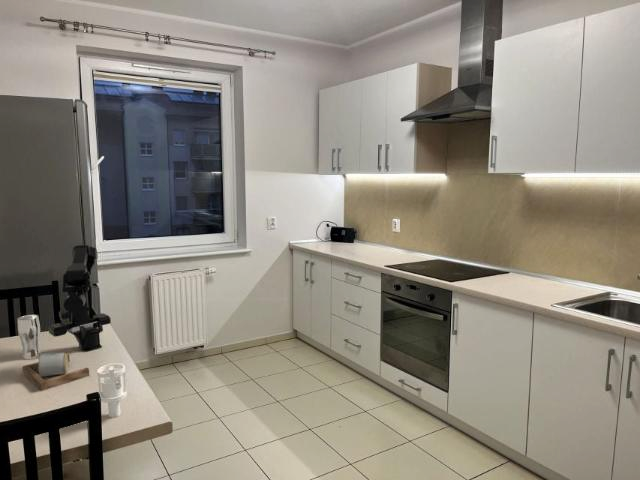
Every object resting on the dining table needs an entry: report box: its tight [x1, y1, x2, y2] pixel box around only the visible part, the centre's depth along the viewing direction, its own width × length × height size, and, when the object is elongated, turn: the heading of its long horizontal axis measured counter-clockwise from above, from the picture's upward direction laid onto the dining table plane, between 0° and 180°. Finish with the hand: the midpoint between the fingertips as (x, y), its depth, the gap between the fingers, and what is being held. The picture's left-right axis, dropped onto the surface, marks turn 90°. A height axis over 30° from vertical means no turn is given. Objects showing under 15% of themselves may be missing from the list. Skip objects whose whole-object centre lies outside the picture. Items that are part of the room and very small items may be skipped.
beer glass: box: [17, 314, 42, 360], centre depth 174 cm, size 7×7×15 cm
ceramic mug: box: [38, 351, 69, 378], centre depth 160 cm, size 11×8×8 cm
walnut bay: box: [21, 353, 90, 392], centre depth 159 cm, size 14×19×2 cm
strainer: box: [96, 363, 128, 419], centre depth 132 cm, size 7×7×15 cm
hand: (82, 347), depth 164 cm, fingers closed
